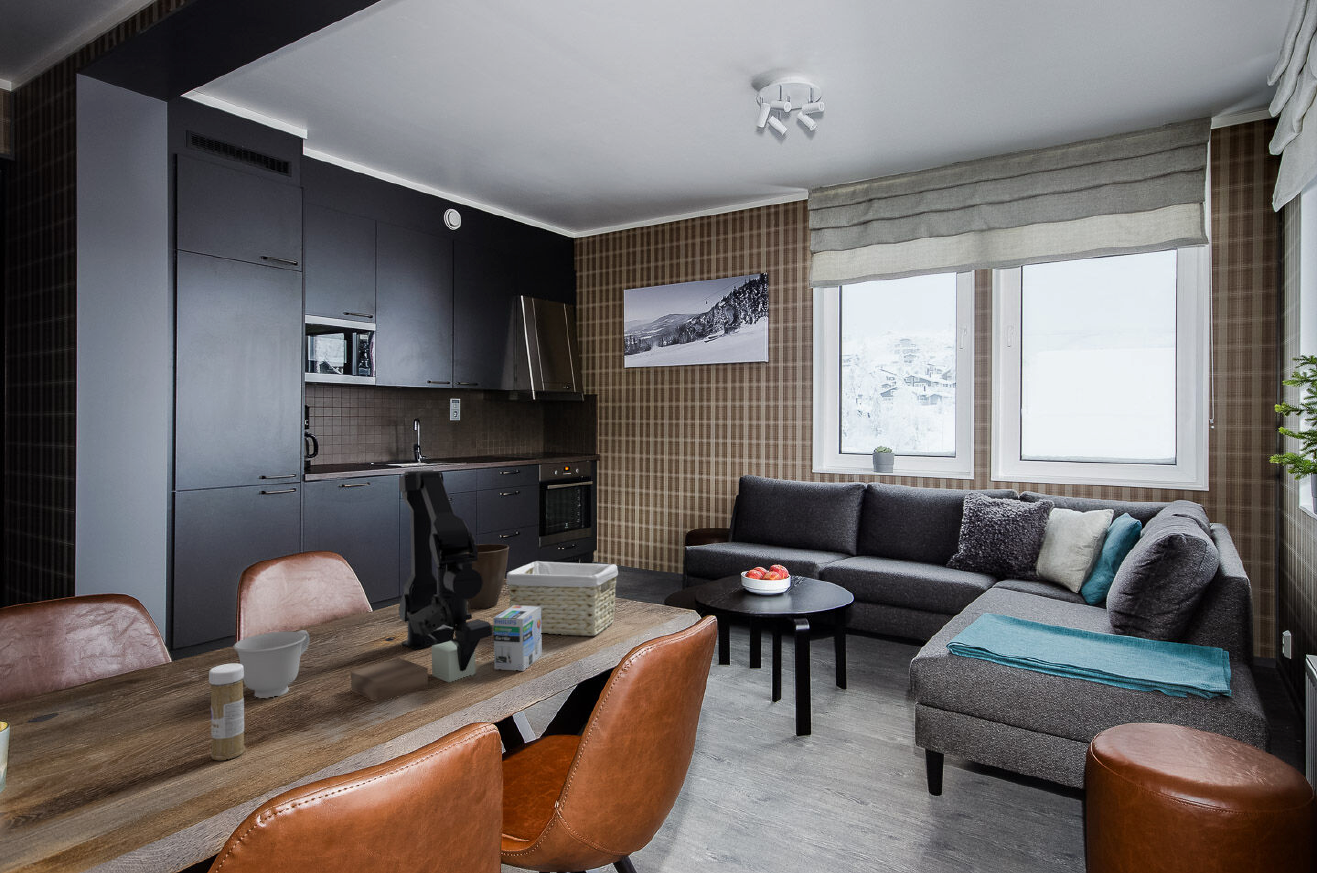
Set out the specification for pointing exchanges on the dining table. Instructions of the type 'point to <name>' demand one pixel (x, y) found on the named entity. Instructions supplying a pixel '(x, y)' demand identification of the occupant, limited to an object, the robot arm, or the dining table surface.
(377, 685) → the walnut block
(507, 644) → the light bulb box
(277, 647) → the teacup
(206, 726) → the dining table surface
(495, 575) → the plant pot
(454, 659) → the sage cube
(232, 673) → the sprinkles bottle
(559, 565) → the storage basket
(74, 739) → the dining table surface
